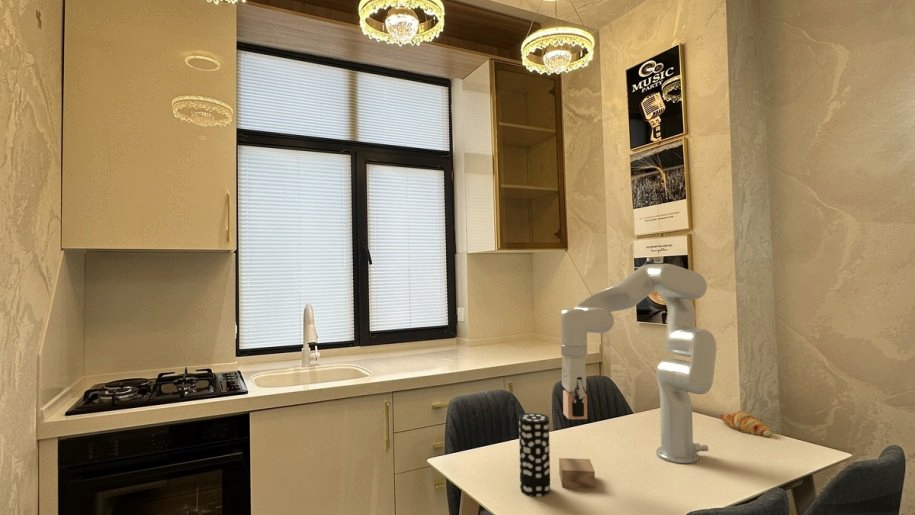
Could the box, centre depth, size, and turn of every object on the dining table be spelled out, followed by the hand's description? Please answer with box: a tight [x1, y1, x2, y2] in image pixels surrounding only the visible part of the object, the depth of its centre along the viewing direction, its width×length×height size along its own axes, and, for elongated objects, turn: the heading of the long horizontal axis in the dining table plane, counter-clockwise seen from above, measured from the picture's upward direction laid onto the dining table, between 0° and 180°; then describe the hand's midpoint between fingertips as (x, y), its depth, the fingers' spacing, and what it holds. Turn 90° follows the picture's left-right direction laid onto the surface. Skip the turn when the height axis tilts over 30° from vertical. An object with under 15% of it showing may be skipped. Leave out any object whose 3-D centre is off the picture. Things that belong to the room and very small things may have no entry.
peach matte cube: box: [562, 389, 588, 420], centre depth 141 cm, size 6×6×7 cm
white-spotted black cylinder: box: [518, 412, 551, 498], centre depth 135 cm, size 8×8×20 cm
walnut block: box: [558, 457, 596, 490], centre depth 140 cm, size 9×9×5 cm
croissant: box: [719, 410, 773, 437], centre depth 183 cm, size 21×10×8 cm, turn 22°
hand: (575, 412), depth 141 cm, fingers closed on peach matte cube, 5 cm apart
